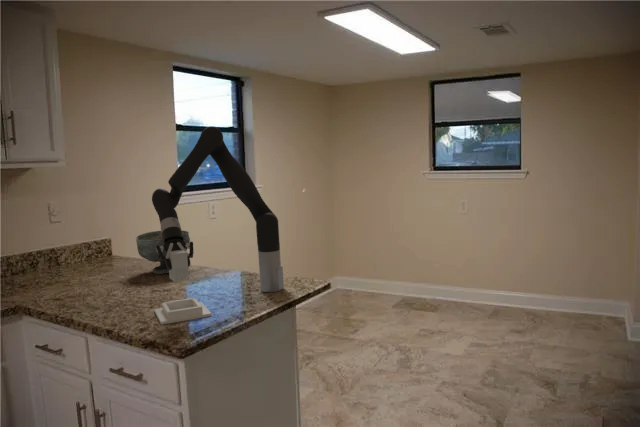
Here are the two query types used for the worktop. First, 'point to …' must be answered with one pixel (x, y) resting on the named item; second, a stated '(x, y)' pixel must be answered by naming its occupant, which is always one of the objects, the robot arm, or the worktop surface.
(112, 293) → the worktop surface
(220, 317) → the worktop surface
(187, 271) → the small box
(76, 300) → the worktop surface
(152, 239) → the decorative bowl
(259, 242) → the robot arm
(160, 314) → the off-white tray
